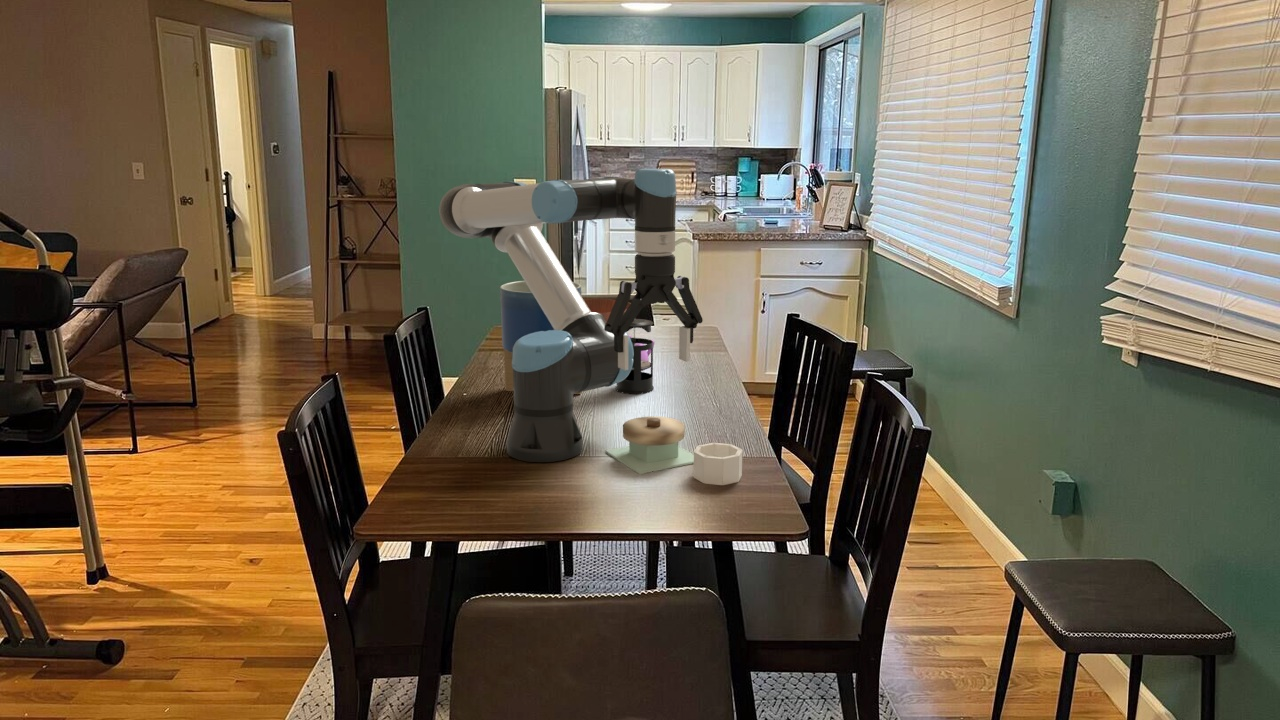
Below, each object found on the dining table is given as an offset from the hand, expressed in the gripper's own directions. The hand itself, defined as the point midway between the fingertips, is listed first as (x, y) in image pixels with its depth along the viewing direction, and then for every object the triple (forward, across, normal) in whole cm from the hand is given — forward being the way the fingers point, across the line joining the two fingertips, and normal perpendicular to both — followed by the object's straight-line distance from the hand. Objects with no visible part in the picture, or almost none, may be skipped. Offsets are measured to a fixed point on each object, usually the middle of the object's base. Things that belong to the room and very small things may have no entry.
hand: (654, 364), depth 177 cm
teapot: (+19, +31, +65) cm, 75 cm away
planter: (+19, 0, +54) cm, 57 cm away
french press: (+19, +21, +46) cm, 54 cm away
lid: (+14, 0, 0) cm, 14 cm away
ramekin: (+18, +5, -15) cm, 24 cm away
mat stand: (+19, 0, 0) cm, 19 cm away
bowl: (+19, +36, +97) cm, 106 cm away
